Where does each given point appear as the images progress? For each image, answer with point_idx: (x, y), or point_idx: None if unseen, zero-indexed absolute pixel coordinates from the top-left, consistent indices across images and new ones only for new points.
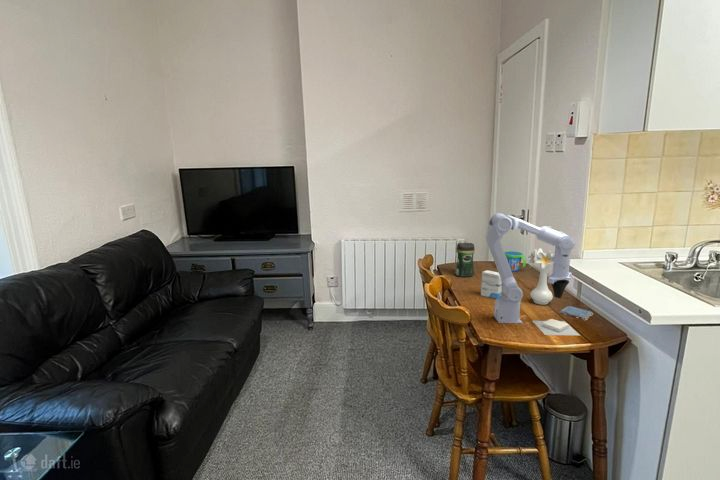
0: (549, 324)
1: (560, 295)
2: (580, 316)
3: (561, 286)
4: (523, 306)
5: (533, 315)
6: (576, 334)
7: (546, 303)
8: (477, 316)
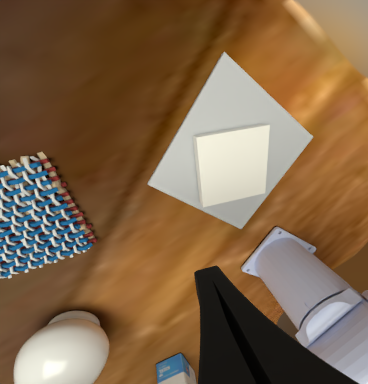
0: (259, 172)
1: (228, 279)
2: (45, 181)
3: (334, 370)
4: (158, 311)
5: (193, 258)
6: (228, 70)
7: (69, 314)
8: None
